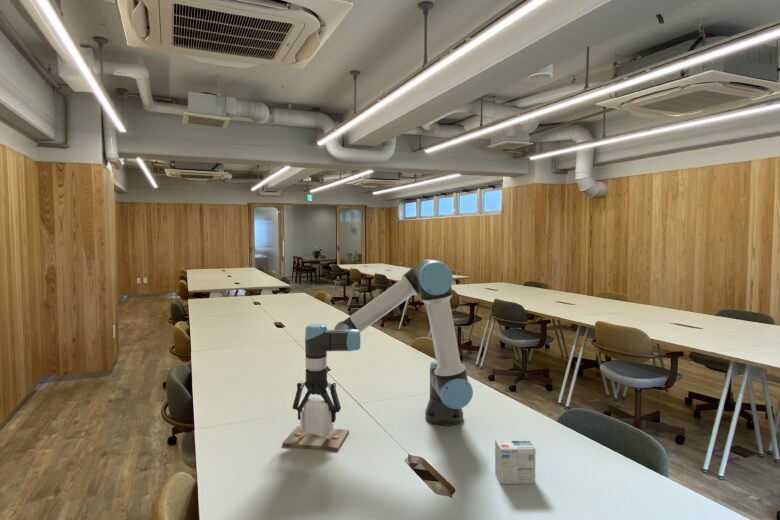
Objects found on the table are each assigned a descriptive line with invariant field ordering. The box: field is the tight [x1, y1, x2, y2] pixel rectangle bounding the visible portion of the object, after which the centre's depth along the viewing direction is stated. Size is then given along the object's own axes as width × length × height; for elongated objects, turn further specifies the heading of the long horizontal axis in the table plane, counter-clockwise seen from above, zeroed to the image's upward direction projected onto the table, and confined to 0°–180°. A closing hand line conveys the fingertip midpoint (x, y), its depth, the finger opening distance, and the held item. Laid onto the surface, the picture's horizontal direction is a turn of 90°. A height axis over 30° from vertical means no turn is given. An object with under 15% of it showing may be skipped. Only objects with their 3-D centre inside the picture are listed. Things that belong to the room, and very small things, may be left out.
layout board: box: [281, 425, 350, 452], centre depth 156 cm, size 20×14×2 cm
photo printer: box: [303, 397, 330, 437], centre depth 156 cm, size 10×4×12 cm, turn 61°
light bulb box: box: [494, 438, 537, 485], centre depth 131 cm, size 11×7×11 cm, turn 92°
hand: (316, 429), depth 156 cm, fingers closed on photo printer, 10 cm apart
